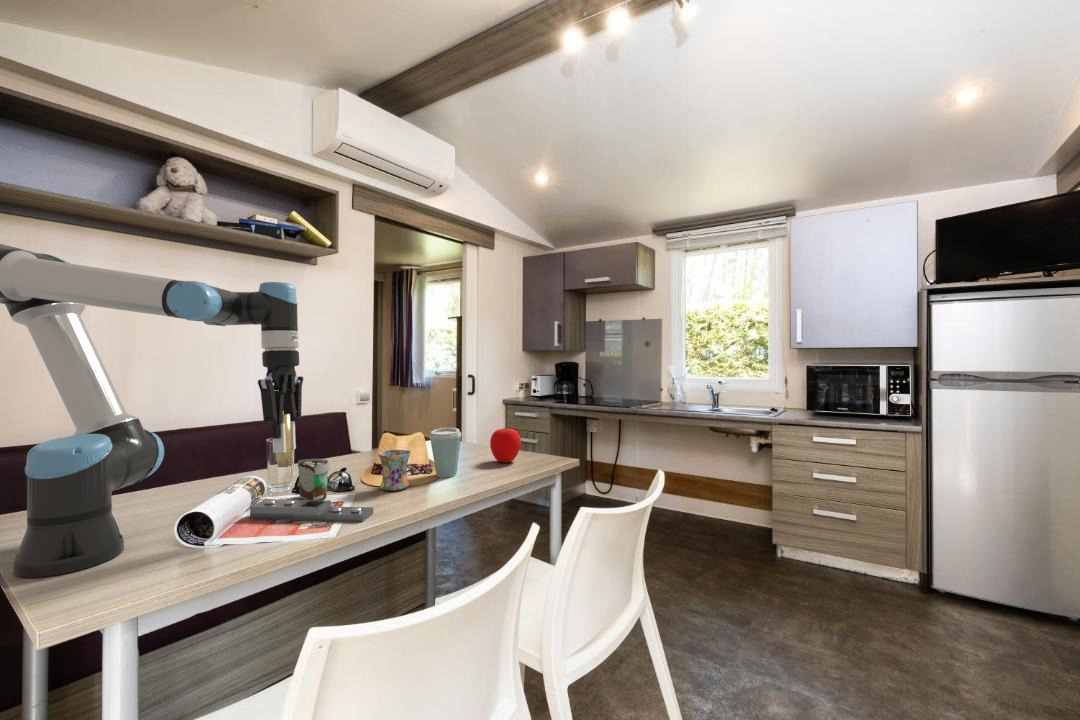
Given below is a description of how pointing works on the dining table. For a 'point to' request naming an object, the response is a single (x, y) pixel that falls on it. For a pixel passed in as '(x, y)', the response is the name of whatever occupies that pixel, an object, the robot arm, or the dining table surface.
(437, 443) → the disposable coffee cup
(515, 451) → the red apple
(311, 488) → the food container
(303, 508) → the grey studded plate
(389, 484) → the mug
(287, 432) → the pin
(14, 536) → the dining table surface
